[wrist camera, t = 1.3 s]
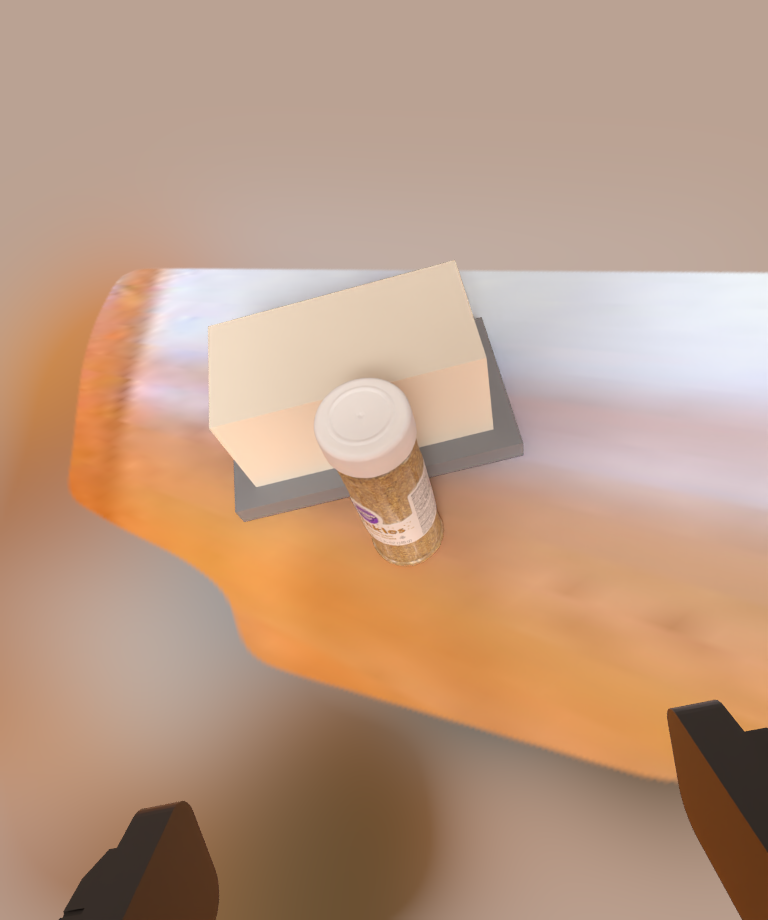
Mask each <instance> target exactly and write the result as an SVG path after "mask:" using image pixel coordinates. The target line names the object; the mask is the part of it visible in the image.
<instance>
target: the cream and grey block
mask: <svg viewBox="0 0 768 920" xmlns="http://www.w3.org/2000/svg"><path fill="white" fill-rule="evenodd" d="M208 363H209V429H210V430H211V432H212V433H213V434H214V435H215V437H216V438H217V439H218V440H219V442H220V443H221V444H222V445H223V447H224V448H225V449H226V450H227V451H228V453H229V454H230V455H231V456H232V458H233V459H234V485H235V512H236V514H237V515H238V516H239V517H240V518H241V519H242V520H243V521H244V522H246V521H250V520H254V519H258V518H263V517H267V516H271V515H275V514H279V513H284V512H288V511H292V510H296V509H300V508H304V507H309V506H313V505H317V504H321V503H325V502H330V501H334V500H338V499H342V498H346V497H350V494H349V492H348V490H347V488H346V486H345V484H344V482H343V480H342V478H341V476H340V475H339V473H338V471H337V470H336V469H335V468H333V467H332V466H331V465H330V464H329V462H328V461H327V459H326V458H325V456H324V454H323V452H322V450H321V448H320V446H319V444H318V442H317V439H316V437H315V433H314V419H315V415H316V412H317V409H318V407H319V405H320V404H321V402H322V401H323V399H324V398H325V397H326V396H327V395H328V394H329V393H330V392H331V391H332V390H334V389H335V388H336V387H338V386H340V385H341V384H343V383H346V382H348V381H351V380H354V379H359V378H379V379H383V380H386V381H389V382H391V383H392V384H394V385H396V386H397V387H398V388H399V389H400V390H402V391H403V393H404V394H405V395H406V397H407V399H408V401H409V403H410V406H411V409H412V412H413V416H414V419H415V423H416V430H417V435H416V439H417V443H418V446H419V450H420V451H421V453H422V456H423V459H424V463H425V466H426V470H427V473H428V477H429V478H430V477H434V476H438V475H442V474H447V473H451V472H455V471H459V470H463V469H467V468H472V467H476V466H480V465H484V464H488V463H492V462H497V461H501V460H505V459H509V458H513V457H518V456H522V455H523V441H522V438H521V435H520V432H519V429H518V426H517V423H516V420H515V417H514V414H513V411H512V408H511V405H510V402H509V399H508V396H507V393H506V390H505V387H504V384H503V381H502V378H501V375H500V372H499V369H498V366H497V362H496V359H495V356H494V353H493V350H492V347H491V344H490V341H489V338H488V335H487V332H486V329H485V326H484V323H483V320H482V317H481V318H477V319H474V317H473V314H472V311H471V308H470V305H469V302H468V298H467V295H466V292H465V289H464V286H463V283H462V280H461V277H460V273H459V270H458V267H457V264H456V261H455V260H453V261H449V262H445V263H442V264H438V265H435V266H430V267H427V268H423V269H419V270H416V271H412V272H408V273H405V274H401V275H397V276H393V277H390V278H386V279H382V280H379V281H375V282H371V283H368V284H364V285H360V286H356V287H353V288H349V289H345V290H342V291H338V292H334V293H330V294H327V295H323V296H319V297H316V298H312V299H308V300H305V301H301V302H297V303H293V304H290V305H286V306H282V307H279V308H275V309H271V310H268V311H264V312H260V313H256V314H253V315H249V316H245V317H242V318H238V319H234V320H230V321H227V322H223V323H219V324H216V325H212V326H208Z"/></svg>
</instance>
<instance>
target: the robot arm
mask: <svg viewBox="0 0 768 920" xmlns="http://www.w3.org/2000/svg"><path fill="white" fill-rule="evenodd" d="M667 719H668V726H669V731H670V737H671V743H672V749H673V755H674V761H675V766H676V772H677V778H678V784H679V789H680V794H681V798H682V801H683V804H684V808H685V811H686V813H687V816H688V819H689V821H690V823H691V826H692V828H693V830H694V832H695V834H696V836H697V838H698V840H699V842H700V844H701V845H702V847H703V849H704V851H705V853H706V855H707V856H708V858H709V860H710V862H711V864H712V865H713V867H714V869H715V871H716V873H717V875H718V877H719V878H720V880H721V882H722V884H723V886H724V888H725V889H726V891H727V893H728V895H729V897H730V898H731V900H732V902H733V904H734V906H735V907H736V909H737V911H738V913H739V915H740V917H741V918H742V920H768V728H762V729H757V730H751V731H746V732H744V731H743V729H742V728H741V727H740V726H739V724H738V723H737V722H736V721H735V719H734V718H733V717H732V716H731V714H730V713H729V712H728V711H727V709H726V708H725V707H724V706H723V704H722V703H721V702H719V701H718V700H712V701H706V702H701V703H696V704H691V705H686V706H681V707H675V708H670V709H668V711H667ZM218 903H219V885H218V878H217V874H216V871H215V868H214V865H213V862H212V860H211V857H210V855H209V852H208V849H207V847H206V844H205V841H204V839H203V836H202V834H201V831H200V828H199V826H198V823H197V821H196V818H195V815H194V812H193V810H192V808H191V806H190V805H189V804H188V803H187V802H185V801H181V802H175V803H171V804H165V805H160V806H155V807H150V808H144V809H141V810H140V811H138V812H137V813H136V814H135V816H134V817H133V819H132V821H131V823H130V825H129V826H128V828H127V830H126V832H125V834H124V836H123V838H122V840H121V841H120V843H119V845H118V847H117V848H114V849H109V851H107V852H106V854H105V855H104V856H103V857H102V858H101V859H100V860H99V861H98V862H97V863H96V864H95V866H94V867H93V868H92V869H91V870H90V871H89V872H88V873H87V874H86V875H85V877H84V878H83V879H82V880H81V882H80V884H79V885H78V887H77V889H76V891H75V892H74V894H73V896H72V898H71V899H70V901H69V903H68V905H67V907H66V908H65V910H64V916H63V918H60V919H59V920H216V916H217V911H218Z"/></svg>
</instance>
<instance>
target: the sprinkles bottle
mask: <svg viewBox="0 0 768 920" xmlns="http://www.w3.org/2000/svg"><path fill="white" fill-rule="evenodd" d="M314 433H315V437H316V439H317V442H318V444H319V446H320V448H321V450H322V452H323V454H324V456H325V458H326V459H327V461H328V462H329V464H330V465H331V466H332V467H333V468H335V469H336V470H337V471H338V473H339V475H340V476H341V478H342V480H343V482H344V484H345V486H346V488H347V490H348V492H349V494H350V498H351V500H352V502H353V504H354V506H355V508H356V510H357V512H358V514H359V516H360V517H361V519H362V521H363V523H364V525H365V527H366V529H367V530H368V532H369V533H370V535H371V537H372V540H373V544H374V546H375V549H376V550H377V551H378V553H379V554H380V555H381V557H382V558H384V559H385V560H386V561H388V562H389V563H391V564H395V565H398V566H413V565H417V564H419V563H422V562H424V561H426V560H427V559H428V558H430V557H431V556H432V555H433V554H434V553H435V552H436V551H437V550H438V548H439V547H440V545H441V541H442V539H443V532H444V529H443V523H442V520H441V518H440V516H439V514H438V512H437V509H436V502H435V498H434V494H433V491H432V487H431V484H430V480H429V477H428V473H427V470H426V466H425V463H424V459H423V456H422V453H421V451H420V450H419V446H418V443H417V439H416V435H417V430H416V423H415V419H414V416H413V412H412V409H411V406H410V403H409V401H408V399H407V397H406V395H405V394H404V393H403V391H402V390H400V389H399V388H398V387H397V386H396V385H394V384H392V383H391V382H389V381H386V380H383V379H379V378H359V379H354V380H351V381H348V382H346V383H343V384H341V385H340V386H338V387H336V388H335V389H334V390H332V391H331V392H330V393H329V394H328V395H327V396H326V397H325V398H324V399H323V401H322V402H321V404H320V405H319V407H318V409H317V412H316V415H315V419H314Z"/></svg>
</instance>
